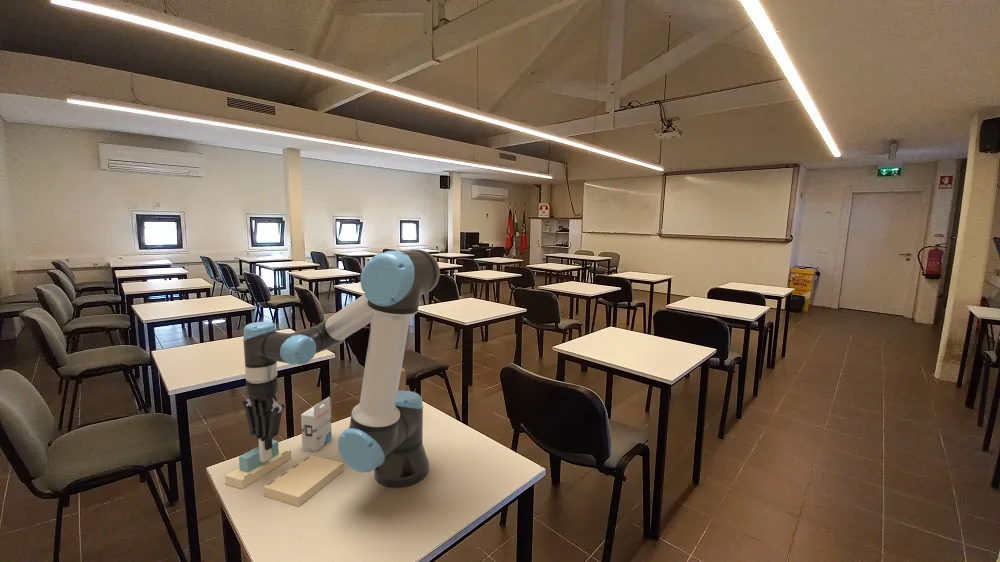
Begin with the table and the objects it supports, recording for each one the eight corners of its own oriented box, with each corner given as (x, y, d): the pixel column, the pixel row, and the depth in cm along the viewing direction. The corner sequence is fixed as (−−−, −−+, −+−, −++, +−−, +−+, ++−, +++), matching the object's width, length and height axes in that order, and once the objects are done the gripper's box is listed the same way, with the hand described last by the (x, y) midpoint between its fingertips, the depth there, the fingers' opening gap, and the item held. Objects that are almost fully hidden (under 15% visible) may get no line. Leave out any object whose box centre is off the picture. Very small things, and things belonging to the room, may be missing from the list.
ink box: (318, 436, 135) (317, 394, 133) (332, 438, 134) (331, 395, 133) (301, 450, 127) (299, 404, 125) (315, 452, 126) (314, 406, 124)
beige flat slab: (343, 471, 117) (342, 462, 116) (298, 506, 102) (298, 496, 101) (310, 462, 120) (310, 454, 120) (263, 495, 105) (263, 486, 105)
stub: (291, 457, 123) (290, 437, 122) (242, 489, 108) (241, 466, 107) (275, 453, 125) (274, 433, 124) (225, 484, 110) (224, 461, 109)
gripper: (291, 377, 113) (294, 457, 116) (256, 371, 118) (259, 448, 121) (268, 387, 106) (272, 471, 109) (231, 379, 111) (236, 461, 113)
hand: (265, 459), depth 115 cm, fingers closed
